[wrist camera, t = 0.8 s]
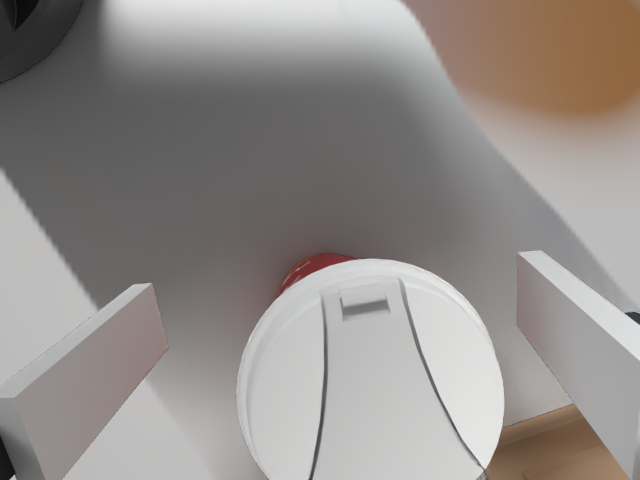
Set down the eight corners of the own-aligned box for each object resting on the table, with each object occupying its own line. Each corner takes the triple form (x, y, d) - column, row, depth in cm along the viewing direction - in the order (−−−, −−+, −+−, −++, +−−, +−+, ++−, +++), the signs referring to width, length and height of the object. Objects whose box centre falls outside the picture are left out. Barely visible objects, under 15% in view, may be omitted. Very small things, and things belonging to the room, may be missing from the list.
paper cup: (250, 246, 24) (205, 292, 10) (380, 225, 25) (505, 241, 11) (272, 377, 25) (259, 587, 11) (398, 353, 25) (540, 524, 11)
